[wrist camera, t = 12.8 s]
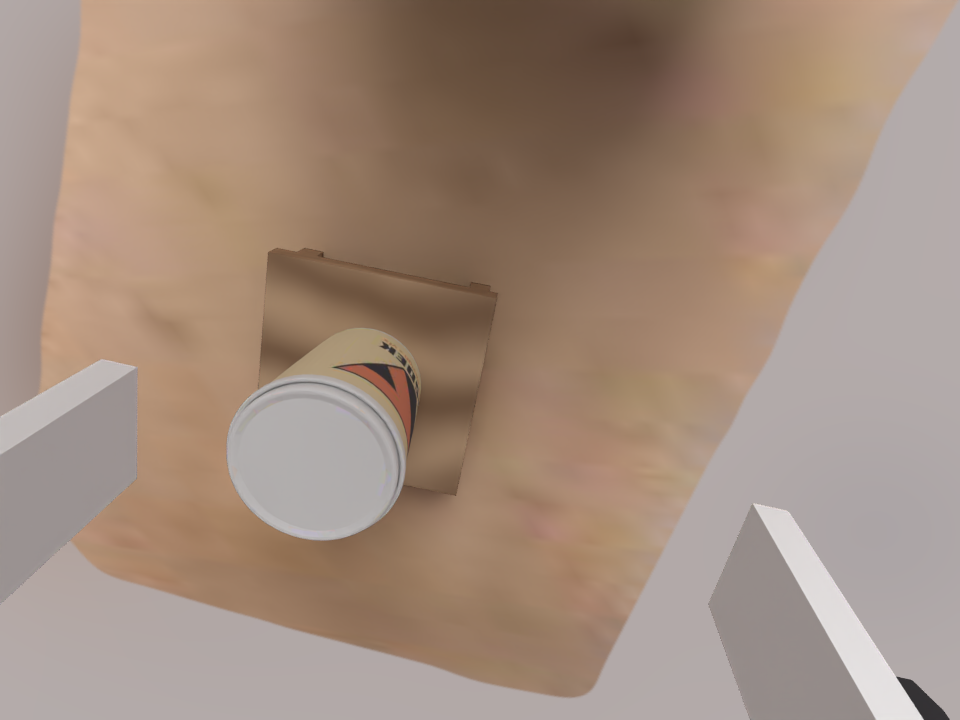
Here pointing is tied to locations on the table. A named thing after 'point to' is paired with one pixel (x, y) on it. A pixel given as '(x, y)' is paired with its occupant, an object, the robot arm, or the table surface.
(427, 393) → the footstool
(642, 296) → the table surface
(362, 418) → the coffee cup
